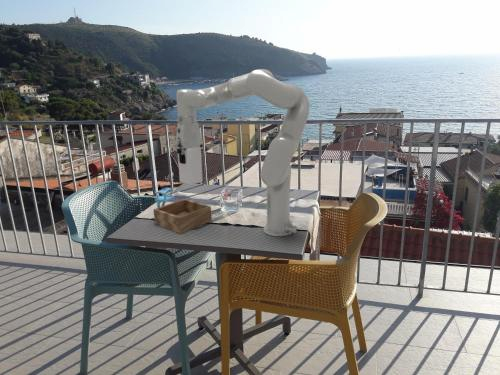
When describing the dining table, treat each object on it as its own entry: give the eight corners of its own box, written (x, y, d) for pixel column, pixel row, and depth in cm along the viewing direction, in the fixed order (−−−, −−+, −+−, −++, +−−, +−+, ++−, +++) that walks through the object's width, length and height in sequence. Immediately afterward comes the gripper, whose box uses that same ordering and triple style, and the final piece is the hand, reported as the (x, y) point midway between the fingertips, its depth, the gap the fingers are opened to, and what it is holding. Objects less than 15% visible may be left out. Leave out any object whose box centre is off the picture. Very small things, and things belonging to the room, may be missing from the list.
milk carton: (202, 181, 166) (200, 138, 160) (189, 185, 161) (187, 141, 156) (192, 178, 171) (189, 136, 165) (179, 182, 166) (176, 139, 160)
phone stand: (164, 207, 192) (161, 185, 188) (177, 209, 188) (175, 186, 185) (154, 213, 185) (151, 189, 182) (168, 215, 182) (165, 191, 178)
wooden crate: (211, 220, 174) (210, 206, 172) (181, 233, 161) (179, 218, 159) (185, 212, 185) (184, 198, 183) (155, 223, 172) (153, 209, 170)
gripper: (176, 123, 149) (179, 167, 155) (208, 118, 162) (210, 159, 167) (164, 121, 154) (168, 164, 159) (196, 117, 167) (199, 156, 172)
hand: (189, 161), depth 163 cm, fingers closed on milk carton, 7 cm apart
